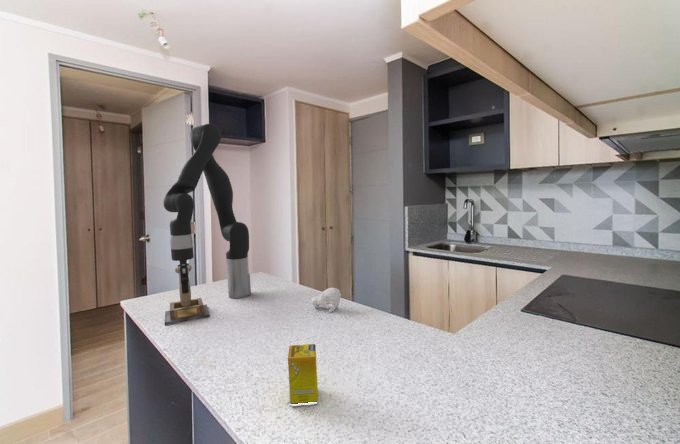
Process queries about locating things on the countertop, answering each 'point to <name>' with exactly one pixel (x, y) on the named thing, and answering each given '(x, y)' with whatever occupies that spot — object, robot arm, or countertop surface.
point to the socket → (186, 312)
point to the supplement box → (302, 373)
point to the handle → (184, 297)
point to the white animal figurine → (327, 299)
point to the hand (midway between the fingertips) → (185, 291)
